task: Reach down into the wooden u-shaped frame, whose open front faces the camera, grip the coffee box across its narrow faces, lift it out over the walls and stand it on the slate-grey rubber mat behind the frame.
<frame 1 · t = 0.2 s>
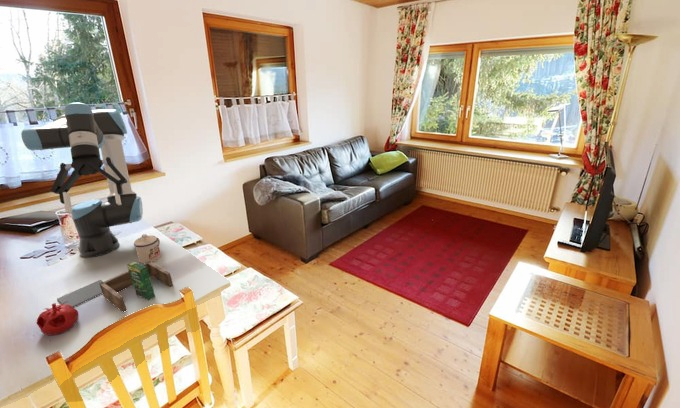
hand: (94, 208, 104), 35 cm above the table, tool tilted 35°, fingers open, 13 cm apart
slate mat: (85, 294, 120), on the table
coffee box: (145, 296, 118), on the table
red carved pumpkin: (62, 327, 104), on the table
wooden u-shaped frame: (139, 291, 121), on the table
teacup with lid: (152, 256, 144), on the table
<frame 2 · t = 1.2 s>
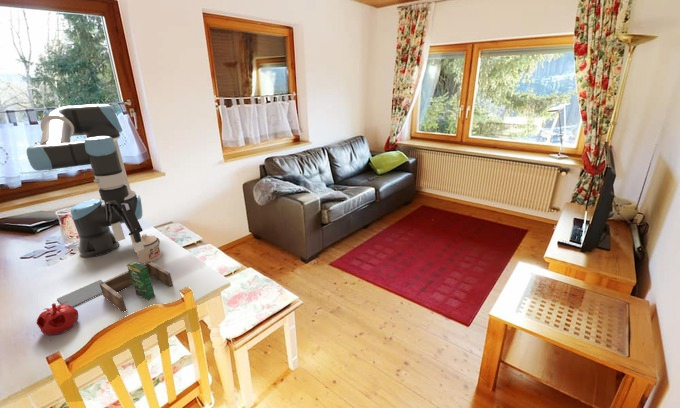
hand: (129, 245, 110), 21 cm above the table, tool pointing down, fingers open, 13 cm apart
nothing on the table moved.
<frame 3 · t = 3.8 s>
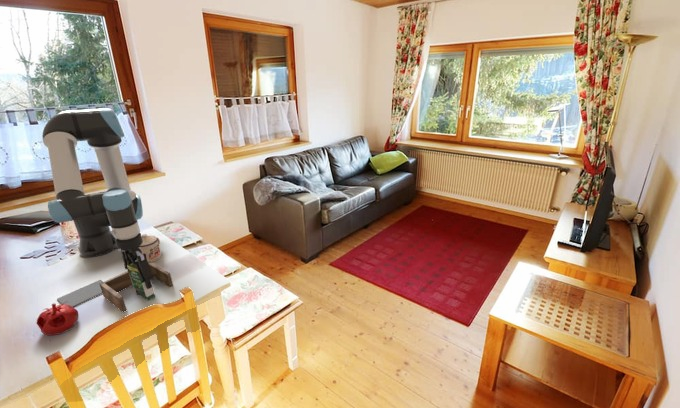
hand: (144, 290, 117), 2 cm above the table, tool pointing down, fingers closed on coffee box, 8 cm apart
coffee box: (145, 296, 118), on the table, touching gripper
everything else where it was.
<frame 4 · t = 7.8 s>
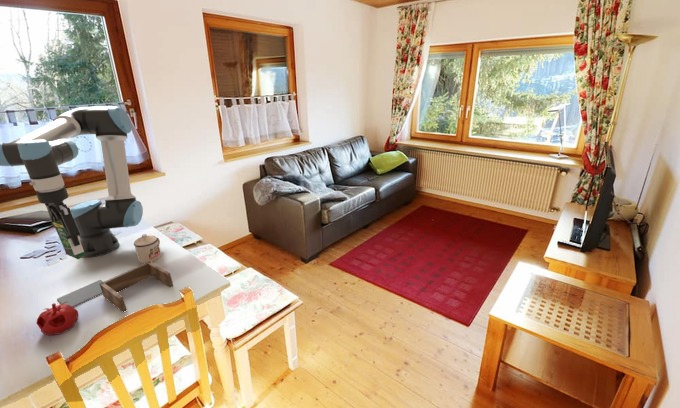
hand: (73, 249, 113), 19 cm above the table, tool pointing down, fingers closed on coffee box, 8 cm apart
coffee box: (75, 255, 114), point 16 cm above the table, touching gripper
everything else where it was.
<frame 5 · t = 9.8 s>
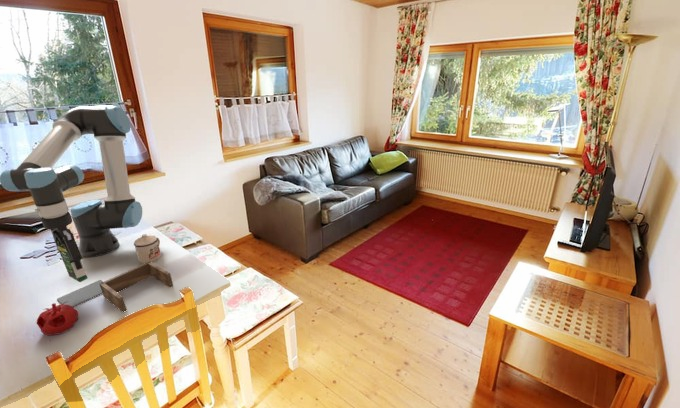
hand: (76, 272, 116), 10 cm above the table, tool pointing down, fingers closed on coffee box, 8 cm apart
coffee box: (78, 278, 117), point 7 cm above the table, touching gripper
everything else where it was.
when the fingers open (4 cm above the table, at t = 11.8 s): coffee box stays where it is, resting on slate mat.
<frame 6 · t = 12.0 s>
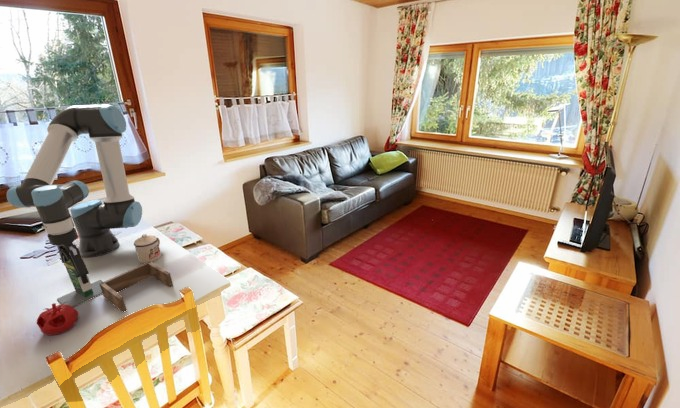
hand: (81, 284, 118), 4 cm above the table, tool pointing down, fingers open, 10 cm apart
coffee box: (84, 293, 120), resting on slate mat
everything else where it was.
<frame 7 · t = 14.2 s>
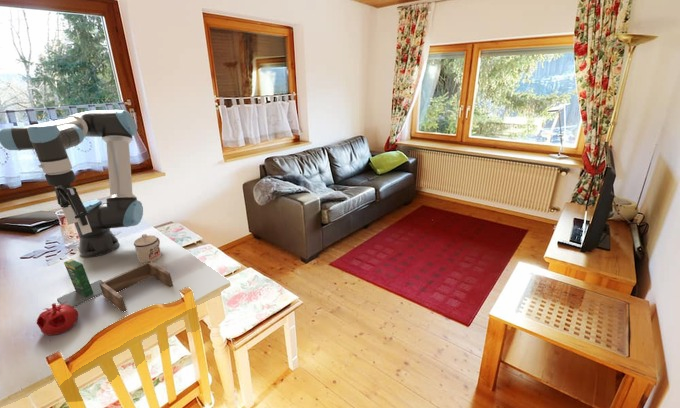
hand: (79, 227, 116), 24 cm above the table, tool pointing down, fingers open, 13 cm apart
nothing on the table moved.
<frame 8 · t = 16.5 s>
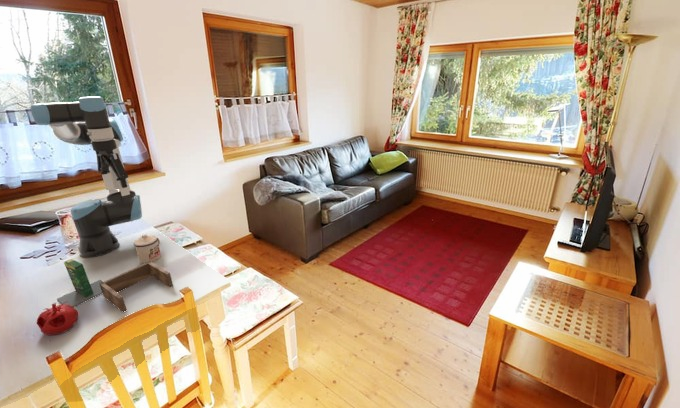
hand: (118, 192, 130), 32 cm above the table, tool pointing down, fingers open, 13 cm apart
nothing on the table moved.
at the end: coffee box inside the target area (0.3 cm from its centre), resting on slate mat; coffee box tilted 0°; the gripper is holding nothing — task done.
